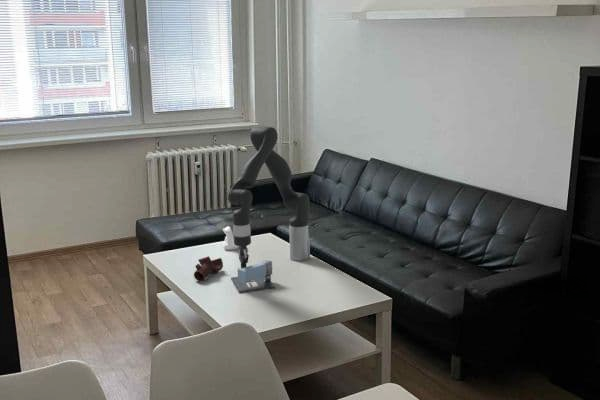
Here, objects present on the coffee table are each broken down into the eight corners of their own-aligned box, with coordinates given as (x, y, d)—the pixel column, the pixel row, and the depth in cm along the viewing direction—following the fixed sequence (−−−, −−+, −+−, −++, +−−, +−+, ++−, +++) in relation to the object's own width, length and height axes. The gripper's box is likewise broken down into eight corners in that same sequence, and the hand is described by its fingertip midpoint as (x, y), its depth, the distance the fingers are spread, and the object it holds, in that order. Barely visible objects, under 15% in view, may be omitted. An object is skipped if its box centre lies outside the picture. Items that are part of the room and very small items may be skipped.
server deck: (266, 275, 320) (265, 267, 319) (276, 288, 304) (275, 280, 303) (231, 279, 316) (230, 271, 315) (239, 293, 299) (238, 285, 298)
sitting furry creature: (243, 248, 361) (242, 226, 358) (231, 252, 355) (229, 229, 352) (230, 245, 367) (229, 223, 364) (218, 248, 361) (217, 226, 358)
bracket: (227, 265, 327) (217, 247, 325) (209, 284, 313) (198, 265, 311) (217, 268, 330) (207, 250, 328) (199, 286, 316) (188, 268, 314)
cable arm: (267, 271, 314) (267, 259, 312) (274, 273, 310) (274, 262, 309) (238, 280, 303) (237, 268, 301) (244, 283, 299) (244, 271, 298)
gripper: (253, 237, 296) (255, 274, 301) (247, 228, 308) (248, 264, 313) (236, 239, 294) (238, 277, 299) (230, 230, 306) (232, 266, 311)
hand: (243, 270), depth 306 cm, fingers closed
